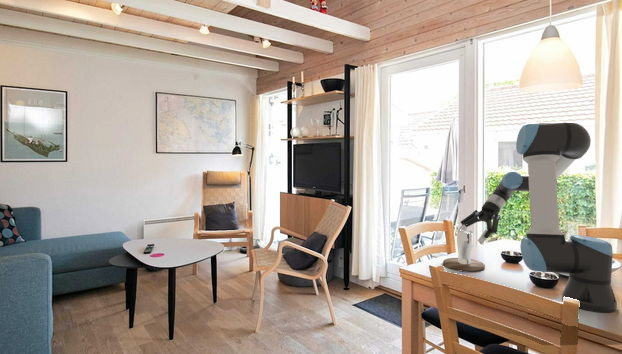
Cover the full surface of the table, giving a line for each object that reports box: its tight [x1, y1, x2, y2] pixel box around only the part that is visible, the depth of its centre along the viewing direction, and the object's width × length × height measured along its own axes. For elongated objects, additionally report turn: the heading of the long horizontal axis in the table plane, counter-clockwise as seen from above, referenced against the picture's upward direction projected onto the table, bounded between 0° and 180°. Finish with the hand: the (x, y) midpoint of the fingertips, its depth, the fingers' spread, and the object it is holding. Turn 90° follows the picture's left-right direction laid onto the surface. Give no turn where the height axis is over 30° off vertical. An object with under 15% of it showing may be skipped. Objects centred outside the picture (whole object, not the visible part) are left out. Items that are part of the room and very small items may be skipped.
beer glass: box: [456, 229, 474, 265], centre depth 170 cm, size 7×7×15 cm
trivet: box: [442, 257, 486, 273], centre depth 171 cm, size 18×18×1 cm
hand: (468, 239), depth 172 cm, fingers open, 13 cm apart
